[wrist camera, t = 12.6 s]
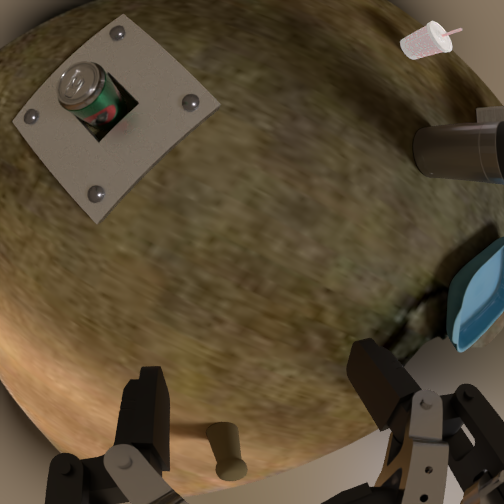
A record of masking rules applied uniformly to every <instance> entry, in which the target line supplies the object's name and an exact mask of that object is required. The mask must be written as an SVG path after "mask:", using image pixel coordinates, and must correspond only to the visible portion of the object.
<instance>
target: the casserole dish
mask: <svg viewBox="0 0 504 504" xmlns="http://www.w3.org/2000/svg"><path fill="white" fill-rule="evenodd" d="M503 311H504V237H501V238H499V239H497V240H495V241H494V242H493V243H491V244H490V245H489V246H488V247H487V248H486V249H484V250H483V251H482V252H481V253H479V254H478V255H477V256H476V257H474V258H473V259H472V260H471V261H469V262H468V263H467V264H466V265H465V266H464V267H463V268H462V269H461V270H460V271H459V272H458V273H457V274H456V275H455V277H454V278H453V280H452V281H451V284H450V287H449V291H448V301H447V321H446V330H447V335H448V337H449V339H450V341H451V342H452V344H453V345H454V347H455V348H456V350H457V351H458V352H463V351H465V350H466V349H467V348H469V347H470V346H471V345H472V344H473V343H475V342H476V341H477V340H478V339H479V338H480V337H481V336H482V335H483V334H484V333H485V332H486V330H487V329H488V328H489V327H490V326H491V325H492V324H493V323H494V322H495V321H496V320H497V318H498V317H499V316H500V315H501V314H502V313H503Z"/></svg>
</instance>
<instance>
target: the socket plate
mask: <svg viewBox="0 0 504 504" xmlns="http://www.w3.org/2000/svg"><path fill="white" fill-rule="evenodd" d="M82 61H88V62H94V63H97V64H99V65H100V66H102V67H103V69H104V70H105V72H106V73H107V75H108V76H109V78H110V79H111V80H112V79H114V80H115V81H116V82H117V83H118V84H119V85H120V86H121V87H122V88H123V89H124V90H125V91H126V92H127V93H128V94H129V95H130V96H131V98H132V99H133V100H134V101H135V102H136V103H137V104H138V105H137V106H136V107H135V108H134V109H133V110H132V111H131V112H129V113H128V114H127V115H126V116H125V117H124V118H123V119H122V120H121V121H120V122H119V123H118V124H117V125H116V126H115V127H114V128H113V129H112V130H111V131H110V132H109V133H108V134H107V135H106V136H105V137H104V138H103V139H102V140H101V141H100V140H99V139H98V138H97V137H96V136H95V135H94V134H93V132H92V131H91V130H90V129H89V128H88V127H87V126H86V125H85V123H84V122H83V121H82V120H81V119H80V118H79V117H77V116H75V115H74V114H72V113H71V112H69V111H67V110H66V109H64V108H63V107H62V106H61V105H60V103H59V101H58V97H57V84H58V81H59V79H60V77H61V75H62V74H63V73H64V72H65V71H66V70H67V69H68V68H69V67H70V66H72V65H73V64H75V63H78V62H82ZM220 105H221V104H220V103H219V102H218V101H217V100H216V99H215V98H214V97H213V96H212V95H211V94H210V93H209V92H208V91H207V90H206V89H205V88H204V87H203V86H202V85H201V84H200V83H199V82H198V81H197V80H196V79H195V78H194V77H193V76H192V75H191V74H190V73H189V72H188V71H187V70H186V69H185V68H184V67H183V66H182V65H181V64H180V63H179V62H178V61H177V60H176V59H174V58H173V57H172V56H171V55H170V54H169V53H168V52H167V51H166V50H165V49H164V48H163V47H161V46H160V45H159V44H158V43H157V42H156V41H155V40H154V39H153V38H151V37H150V36H149V35H148V34H147V33H146V32H145V31H143V30H142V29H141V28H140V27H139V26H137V25H136V24H135V23H134V22H133V21H132V20H130V19H129V18H128V17H127V16H125V15H124V14H122V15H121V16H119V17H118V18H117V19H115V20H114V21H112V22H111V23H110V24H108V25H107V26H106V27H104V28H103V29H102V30H101V31H99V32H98V33H97V34H95V35H94V36H93V37H92V38H91V39H89V40H88V41H87V42H86V43H85V44H84V45H82V46H81V47H80V48H79V49H78V50H77V51H76V52H74V53H73V54H72V55H71V56H70V57H69V58H68V59H67V60H66V61H65V62H64V63H63V64H62V65H61V66H60V67H59V68H58V69H57V70H56V71H55V72H54V73H53V74H52V75H51V76H50V77H49V78H48V79H47V80H46V81H45V82H44V83H43V85H42V86H41V87H40V88H39V89H38V90H37V91H36V92H35V94H34V95H33V96H32V97H31V98H30V99H29V101H28V102H27V103H26V104H25V106H24V107H23V108H22V109H21V111H20V112H19V113H18V115H17V116H16V117H15V118H14V120H13V121H12V122H13V123H14V125H15V126H16V127H17V129H18V130H19V132H20V133H21V134H22V136H23V137H24V138H25V140H26V141H27V143H28V144H29V145H30V146H31V148H32V149H33V150H34V152H35V153H36V154H37V156H38V157H39V158H40V159H41V161H42V162H43V163H44V164H45V166H46V167H47V168H48V169H49V171H50V172H51V173H52V174H53V175H54V177H55V178H56V179H57V180H58V181H59V183H60V184H61V185H62V186H63V187H64V188H65V190H66V191H67V192H68V193H69V194H70V195H71V197H72V198H73V199H74V200H75V201H76V202H77V203H78V204H79V206H80V207H81V208H82V209H83V210H84V211H85V212H86V213H87V214H88V215H89V216H90V218H91V219H92V220H93V221H94V222H95V223H96V224H99V223H101V222H103V220H104V219H105V218H106V217H107V216H108V215H109V214H110V212H111V211H112V210H113V209H114V208H115V207H116V206H117V205H118V203H119V202H120V201H121V200H122V199H123V198H124V197H125V196H126V195H127V194H128V193H129V192H130V191H131V189H132V188H133V187H134V186H135V185H136V184H137V183H138V182H139V181H140V180H141V179H142V178H143V177H144V176H145V175H146V174H147V173H148V172H149V171H150V170H151V169H152V168H153V167H154V166H155V165H156V164H157V163H158V162H159V161H160V160H161V159H162V158H164V157H165V156H166V155H167V154H168V153H169V152H170V151H171V150H172V149H173V148H174V147H175V146H176V145H178V144H179V143H180V142H181V141H182V140H183V139H184V138H185V137H187V136H188V135H189V134H190V133H191V132H192V131H193V130H195V129H196V128H197V127H198V126H199V125H200V124H202V123H203V122H204V121H205V120H206V119H208V118H209V117H210V116H211V115H213V114H214V113H215V112H216V111H218V110H219V108H220Z"/></svg>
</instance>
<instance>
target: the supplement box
mask: <svg viewBox="0 0 504 504" xmlns="http://www.w3.org/2000/svg"><path fill="white" fill-rule="evenodd" d="M476 113H477V123H478V122H495V121H504V106H496V107H484V108H476Z"/></svg>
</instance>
